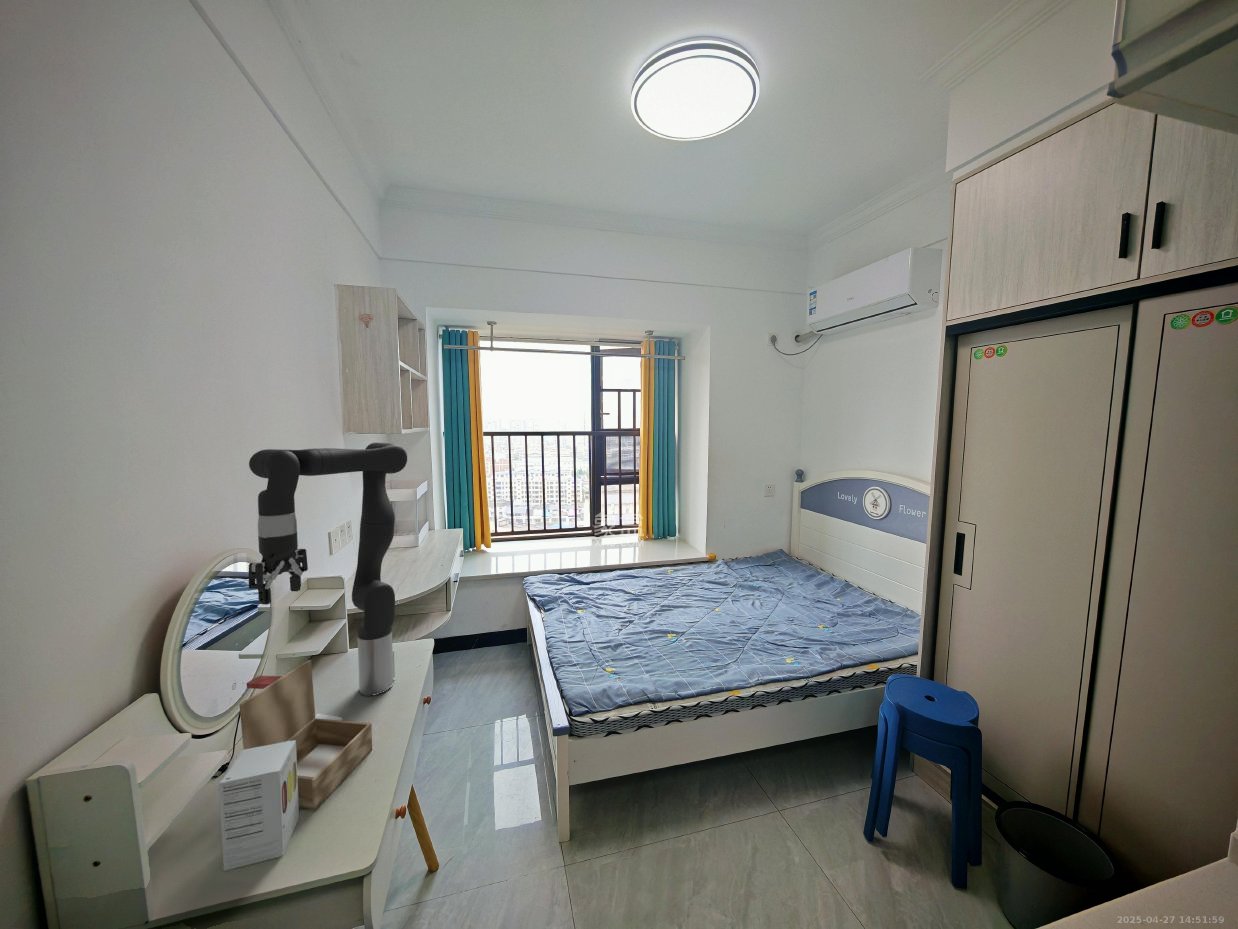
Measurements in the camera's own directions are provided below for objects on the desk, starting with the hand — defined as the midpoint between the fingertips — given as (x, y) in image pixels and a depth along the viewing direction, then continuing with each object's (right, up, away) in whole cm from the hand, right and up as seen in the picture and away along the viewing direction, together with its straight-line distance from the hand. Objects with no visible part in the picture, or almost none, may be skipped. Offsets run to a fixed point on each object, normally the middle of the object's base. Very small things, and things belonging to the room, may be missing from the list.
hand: (281, 597), depth 110 cm
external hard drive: (+2, -39, +7) cm, 39 cm away
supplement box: (+14, -41, -23) cm, 49 cm away
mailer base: (+13, -39, -6) cm, 42 cm away
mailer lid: (+5, -24, -7) cm, 26 cm away
